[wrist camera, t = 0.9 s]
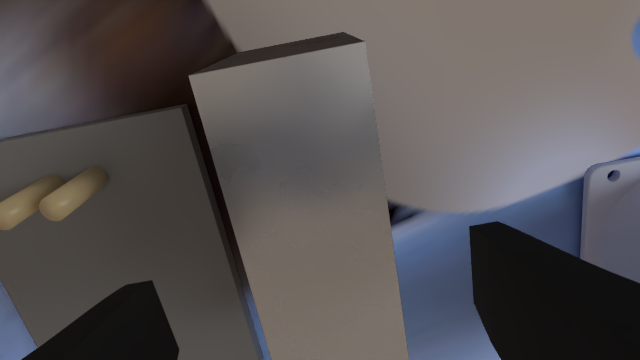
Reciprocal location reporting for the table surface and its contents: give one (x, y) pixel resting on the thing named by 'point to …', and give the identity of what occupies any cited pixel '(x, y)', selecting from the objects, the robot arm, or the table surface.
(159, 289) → the tray
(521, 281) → the robot arm
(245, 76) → the block
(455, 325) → the table surface
